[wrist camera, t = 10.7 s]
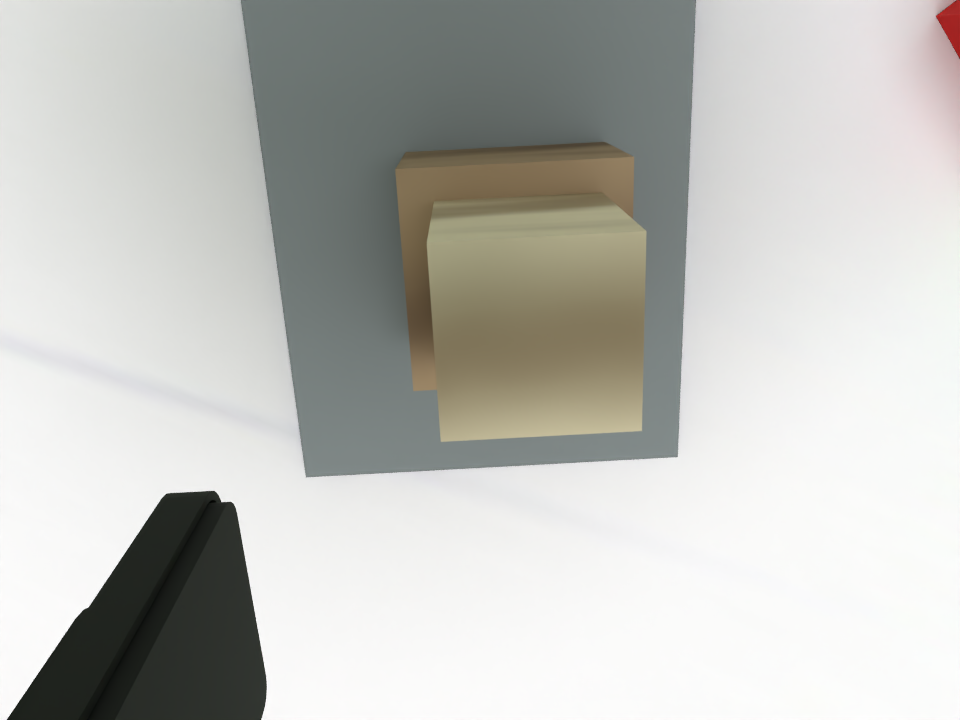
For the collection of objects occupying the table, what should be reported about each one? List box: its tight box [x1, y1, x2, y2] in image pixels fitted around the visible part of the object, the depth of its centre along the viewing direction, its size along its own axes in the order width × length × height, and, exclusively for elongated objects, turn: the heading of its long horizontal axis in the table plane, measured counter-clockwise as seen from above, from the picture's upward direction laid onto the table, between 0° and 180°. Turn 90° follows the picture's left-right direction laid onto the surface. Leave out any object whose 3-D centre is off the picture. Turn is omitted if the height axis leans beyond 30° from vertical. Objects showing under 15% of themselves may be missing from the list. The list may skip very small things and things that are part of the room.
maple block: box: [427, 192, 647, 442], centre depth 22 cm, size 5×5×6 cm
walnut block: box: [395, 142, 634, 391], centre depth 27 cm, size 7×7×5 cm
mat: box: [241, 0, 696, 477], centre depth 29 cm, size 22×15×1 cm
